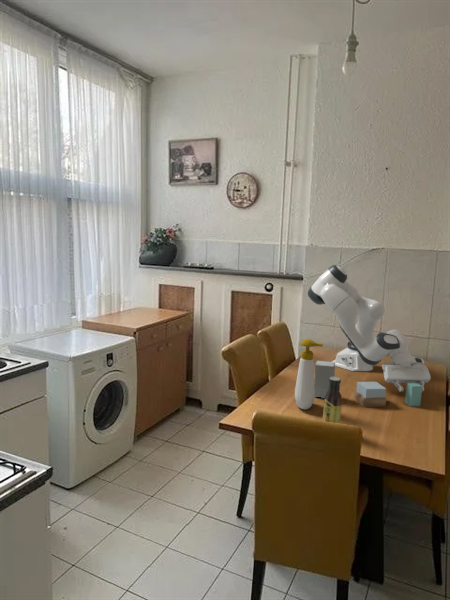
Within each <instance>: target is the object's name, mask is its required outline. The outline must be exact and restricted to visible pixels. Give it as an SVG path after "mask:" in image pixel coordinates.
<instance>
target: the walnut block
mask: <svg viewBox="0 0 450 600" xmlns="http://www.w3.org/2000/svg"><path fill="white" fill-rule="evenodd" d="M353 399H354V400H356V402H358V404H360V405H361V406H362V408H364V407H366V408H367V407H370V408H371V407H386V405H387V398H386V397H385V398H365V397H364V396H362V395H361V394H360V393H359V392H358V391H356V389H354V391H353Z"/></svg>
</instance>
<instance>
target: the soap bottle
mask: <svg viewBox="0 0 450 600" xmlns="http://www.w3.org/2000/svg"><path fill="white" fill-rule="evenodd" d="M299 345H300V346H301V347H302V346H303V347H305V350H303V351H301V355H300V359H299V364H298V370H297V377H296V382H295V388H294V399H295V403H296V406H297V407H298V408H300V409H301V410H309V409H310V408H311V407H312V405H313V403H314V401H315V359H314V352H313V351H312V350H310V348H312V347H313V348H315V347H321V348H322V347H323V346H324V343H321V342H316V341H314V340H313V339H310V338H305V339H303V340H301V342H300V344H299Z"/></svg>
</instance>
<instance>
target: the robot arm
mask: <svg viewBox="0 0 450 600" xmlns="http://www.w3.org/2000/svg"><path fill="white" fill-rule="evenodd" d="M347 280H348V274H347V272H346V271H345V269H344V268H342V267H341V266H339V265H337V264H335V265H334V264H333V265H331V266H330V267H328V269H326V270H325V272H323V273H322V274H320V276H319V277H318V278H317V280H315V282H314V283H313V284H312V286H310V287H309V289H308V290H307V297H308V298H309V299H310V301H311V302H312V303H315V305H326V306H327V308H328V309H329V310H330V311H331V312H332V313H333V314H334V316H335V318H336V319H337V320H338V322H339V324H338V325H339V327H340V328H339V329H341V331H342V332H343V334H344V335H345V337H346V338H347V339H348V342H346V345H347V347H345V348H344V349H341V350H340V351H338V352H337V354H336V356H335V359H333V360H332V361H331V362H335V367H336V368H337V367H338V368H341V369H344V370H348V371H351V372H371V371H373V370H374V366H377V365H378V364H380V362H382V360H383V359H384V358H385V357H386V356H390V360H391V362H383V363H382V364H381V368H382V371H383V377H384V381H385V382H386V383H387V384H388V383H389V384H390V383H392V384H394V386H395V387H396V388H397V390H398V392H400V393H401V392H404V390H405V389H404V386H403V385H401V384H407V383H418V384H419V385H421V386H422V393H423V392H424V391H425V388H424V387H425V384H427V383H429V381H431V379H432V377H431V374H430V371H429V369H428V367H427V366H426V364H425V360H424V359H423V358H421V357H420V358H419V357H416V356H414V355H412V354H411V352H410V351H409V346H408V342H407V340H406V337H405V335H404V334H403V333H402V331H401V330H399V329H389V330H387V331H386V332H379V333H377V334H376V335H375V336H374V330H375V327H376V325H377V323H378V321H380V320H381V319H382V318H383V317H384V315H385V313H386V311H385V310H386V309H385V306H384V305H383V304H382V303H381V302H379V301H378V300H376V299H373V298H367V297H366V296H362V295H361V294H360V293H359V292H358V289H357V288H356V287H355V286H353V285H352V284H350V283H349V282H348V281H347ZM357 318H358V320H357ZM356 321H357V323H356Z"/></svg>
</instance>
